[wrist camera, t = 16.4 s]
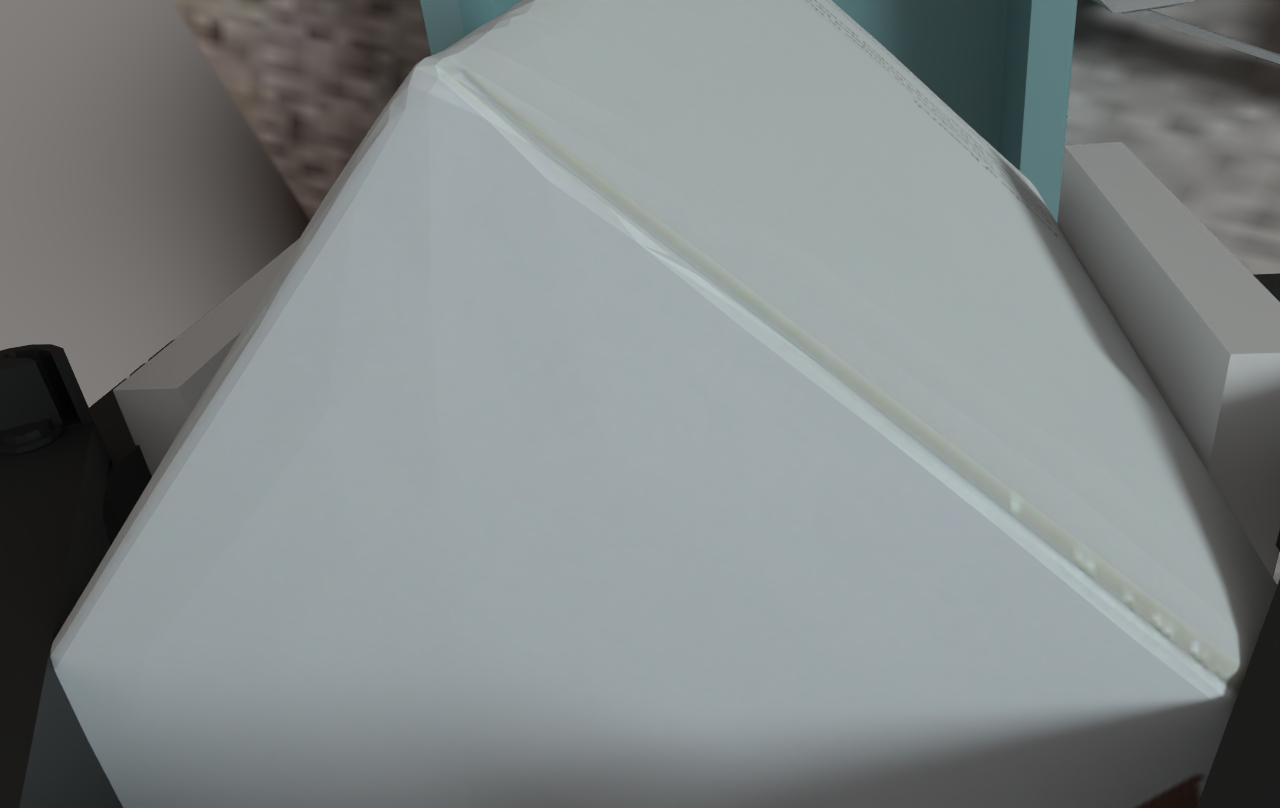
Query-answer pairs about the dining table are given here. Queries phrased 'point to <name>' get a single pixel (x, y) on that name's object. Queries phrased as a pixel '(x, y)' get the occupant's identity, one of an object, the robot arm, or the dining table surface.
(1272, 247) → the dining table surface
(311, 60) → the dining table surface
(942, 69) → the tray
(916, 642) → the supplement box
